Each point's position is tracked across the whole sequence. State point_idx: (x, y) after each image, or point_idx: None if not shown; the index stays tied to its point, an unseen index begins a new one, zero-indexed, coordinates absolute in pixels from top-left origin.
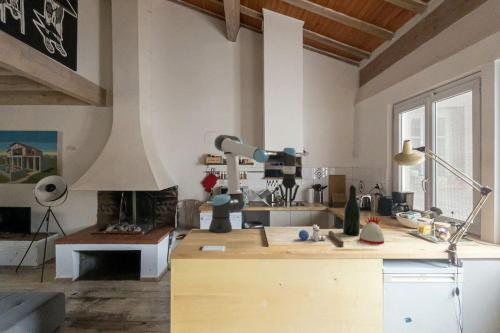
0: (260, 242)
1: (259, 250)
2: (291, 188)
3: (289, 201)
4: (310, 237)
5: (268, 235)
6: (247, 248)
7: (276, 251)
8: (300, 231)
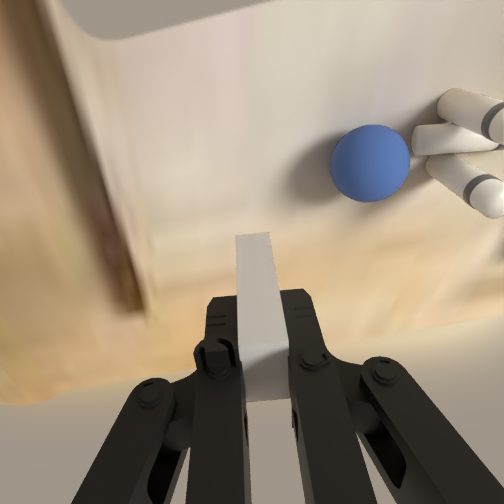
0: (89, 260)
1: (121, 360)
2: None
3: (288, 384)
4: (419, 126)
5: (91, 76)
6: (62, 350)
7: None
8: (350, 180)
